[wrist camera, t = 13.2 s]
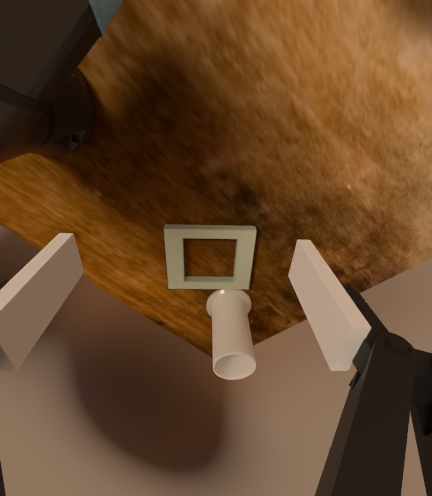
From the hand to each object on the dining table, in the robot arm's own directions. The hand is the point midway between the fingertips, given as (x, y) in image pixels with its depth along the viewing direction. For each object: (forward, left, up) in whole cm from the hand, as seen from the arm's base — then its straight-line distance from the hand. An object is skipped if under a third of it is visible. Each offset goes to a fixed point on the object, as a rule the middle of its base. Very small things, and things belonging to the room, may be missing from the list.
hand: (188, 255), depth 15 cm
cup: (+7, -35, -32) cm, 48 cm away
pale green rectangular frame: (+2, -22, -33) cm, 39 cm away
